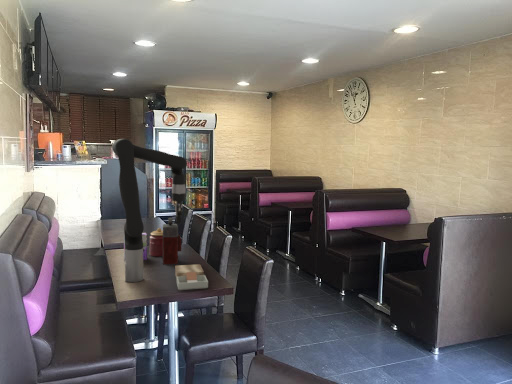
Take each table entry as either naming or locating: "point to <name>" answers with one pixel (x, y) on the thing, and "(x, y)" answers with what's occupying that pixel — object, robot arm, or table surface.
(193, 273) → the terracotta tile
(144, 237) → the candy box
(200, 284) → the grey tray
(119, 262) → the table surface
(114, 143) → the robot arm
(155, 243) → the canister
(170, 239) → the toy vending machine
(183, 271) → the birch board
